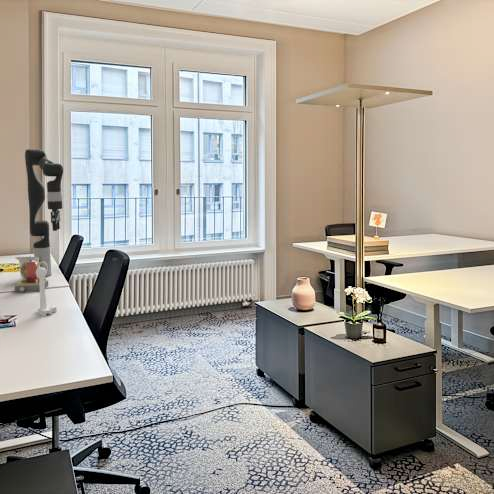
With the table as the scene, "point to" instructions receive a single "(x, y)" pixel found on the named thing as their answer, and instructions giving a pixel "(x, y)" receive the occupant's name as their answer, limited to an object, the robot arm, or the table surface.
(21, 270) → the pitcher
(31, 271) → the spout can
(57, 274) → the table surface
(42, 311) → the joystick
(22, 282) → the grey tray
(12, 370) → the table surface
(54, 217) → the robot arm
